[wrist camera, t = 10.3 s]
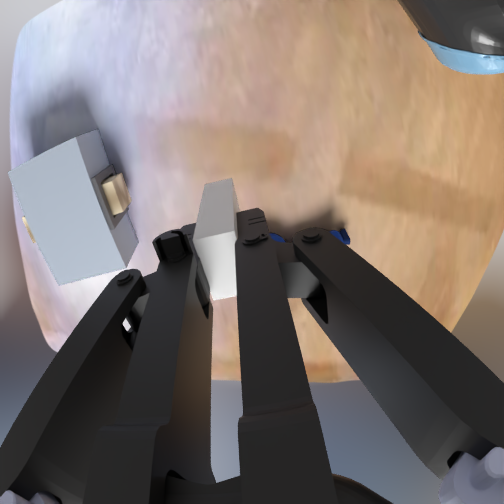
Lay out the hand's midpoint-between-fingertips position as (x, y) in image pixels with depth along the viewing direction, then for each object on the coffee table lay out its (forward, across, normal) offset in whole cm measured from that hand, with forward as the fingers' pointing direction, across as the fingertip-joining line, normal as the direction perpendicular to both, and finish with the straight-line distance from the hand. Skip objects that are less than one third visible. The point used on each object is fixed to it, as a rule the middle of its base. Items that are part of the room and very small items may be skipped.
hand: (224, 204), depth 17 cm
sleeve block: (+25, -23, -3) cm, 34 cm away
